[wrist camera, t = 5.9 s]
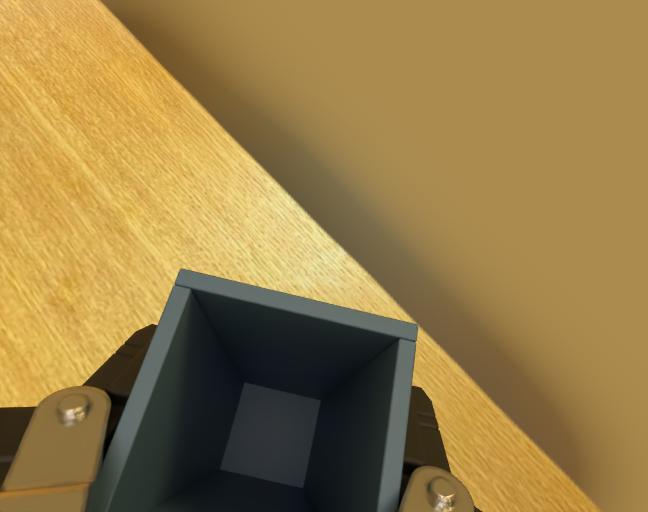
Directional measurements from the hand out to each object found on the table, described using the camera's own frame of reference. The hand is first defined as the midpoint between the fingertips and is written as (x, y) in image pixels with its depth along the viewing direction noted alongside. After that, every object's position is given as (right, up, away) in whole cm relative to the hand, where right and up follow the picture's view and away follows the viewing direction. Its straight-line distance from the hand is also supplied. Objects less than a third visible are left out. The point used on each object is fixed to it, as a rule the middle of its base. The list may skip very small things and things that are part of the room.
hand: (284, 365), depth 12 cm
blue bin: (-2, -7, +11) cm, 13 cm away
